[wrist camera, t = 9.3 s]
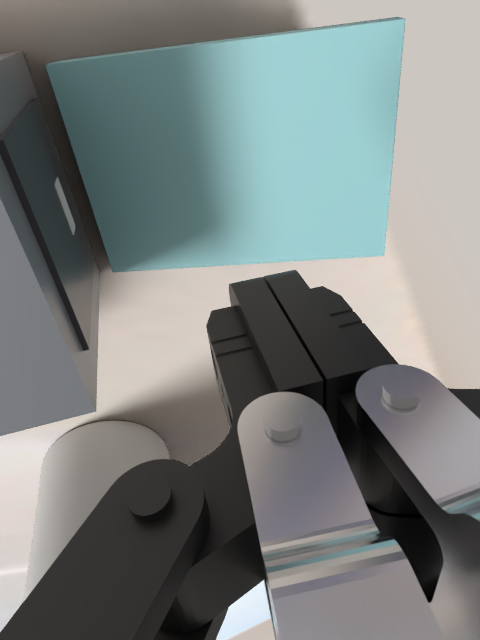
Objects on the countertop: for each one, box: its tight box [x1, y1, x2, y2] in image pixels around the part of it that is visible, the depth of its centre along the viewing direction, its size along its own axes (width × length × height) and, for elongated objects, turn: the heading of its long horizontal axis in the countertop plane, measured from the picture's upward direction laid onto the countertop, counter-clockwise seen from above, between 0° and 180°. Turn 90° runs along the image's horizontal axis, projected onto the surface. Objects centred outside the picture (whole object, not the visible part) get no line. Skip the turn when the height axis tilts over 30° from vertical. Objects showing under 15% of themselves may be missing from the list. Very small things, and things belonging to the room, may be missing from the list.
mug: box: [23, 420, 170, 602], centre depth 27 cm, size 12×8×11 cm
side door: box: [45, 17, 405, 272], centre depth 19 cm, size 2×9×13 cm
